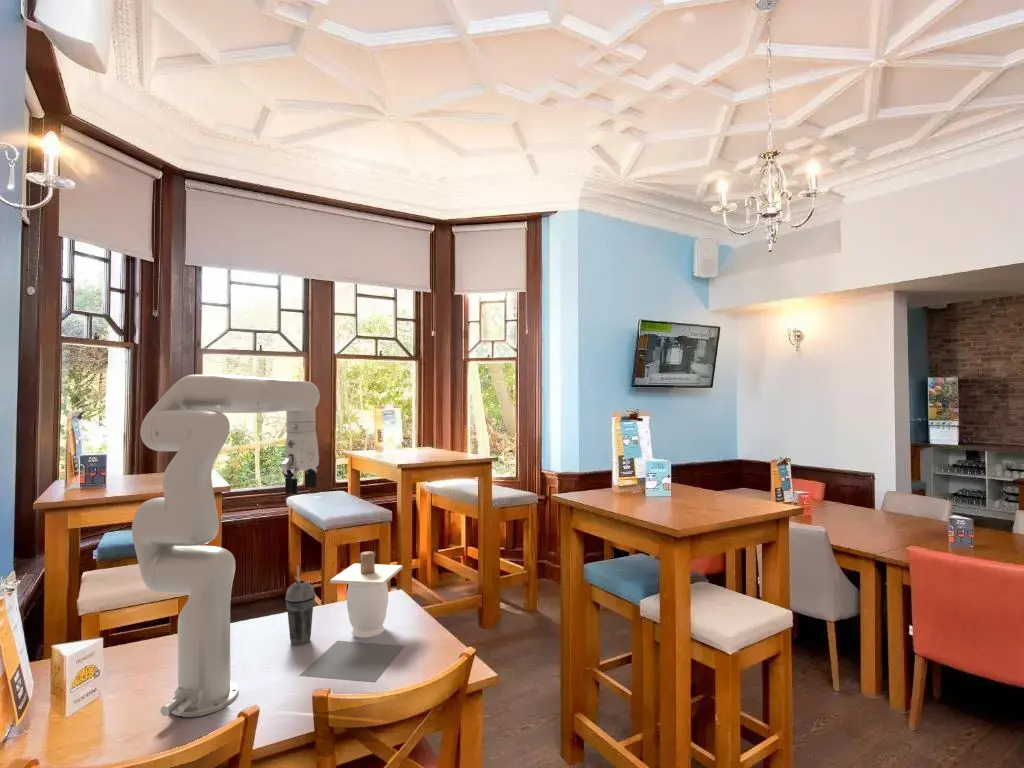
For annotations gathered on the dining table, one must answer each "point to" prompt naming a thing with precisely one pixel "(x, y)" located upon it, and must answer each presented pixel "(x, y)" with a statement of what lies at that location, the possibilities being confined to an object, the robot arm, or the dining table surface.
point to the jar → (367, 608)
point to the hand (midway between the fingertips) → (301, 490)
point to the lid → (367, 572)
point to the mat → (353, 661)
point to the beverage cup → (300, 611)
